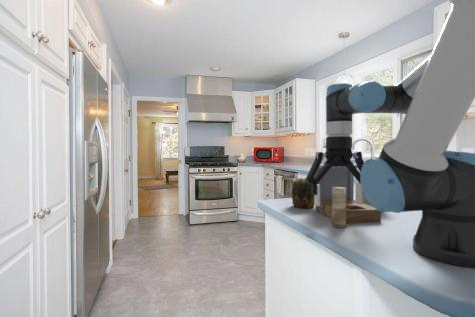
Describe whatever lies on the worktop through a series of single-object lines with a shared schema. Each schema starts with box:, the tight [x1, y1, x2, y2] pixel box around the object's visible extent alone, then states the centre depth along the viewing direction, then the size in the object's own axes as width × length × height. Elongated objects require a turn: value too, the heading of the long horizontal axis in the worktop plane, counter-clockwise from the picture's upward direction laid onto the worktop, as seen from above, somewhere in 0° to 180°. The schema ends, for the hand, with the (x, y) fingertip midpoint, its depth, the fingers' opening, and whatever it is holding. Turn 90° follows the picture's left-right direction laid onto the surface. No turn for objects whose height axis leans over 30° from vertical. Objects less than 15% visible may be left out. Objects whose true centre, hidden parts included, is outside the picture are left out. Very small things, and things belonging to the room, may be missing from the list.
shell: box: [291, 178, 315, 209], centre depth 112 cm, size 11×11×12 cm
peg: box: [331, 187, 347, 229], centre depth 83 cm, size 4×4×12 cm
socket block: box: [318, 199, 382, 224], centre depth 96 cm, size 17×14×4 cm
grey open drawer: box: [314, 163, 359, 212], centre depth 102 cm, size 8×15×18 cm, turn 96°
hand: (338, 204), depth 84 cm, fingers open, 13 cm apart
